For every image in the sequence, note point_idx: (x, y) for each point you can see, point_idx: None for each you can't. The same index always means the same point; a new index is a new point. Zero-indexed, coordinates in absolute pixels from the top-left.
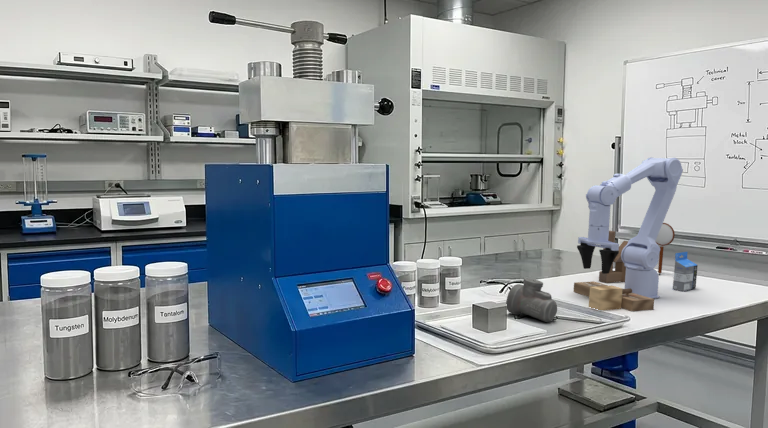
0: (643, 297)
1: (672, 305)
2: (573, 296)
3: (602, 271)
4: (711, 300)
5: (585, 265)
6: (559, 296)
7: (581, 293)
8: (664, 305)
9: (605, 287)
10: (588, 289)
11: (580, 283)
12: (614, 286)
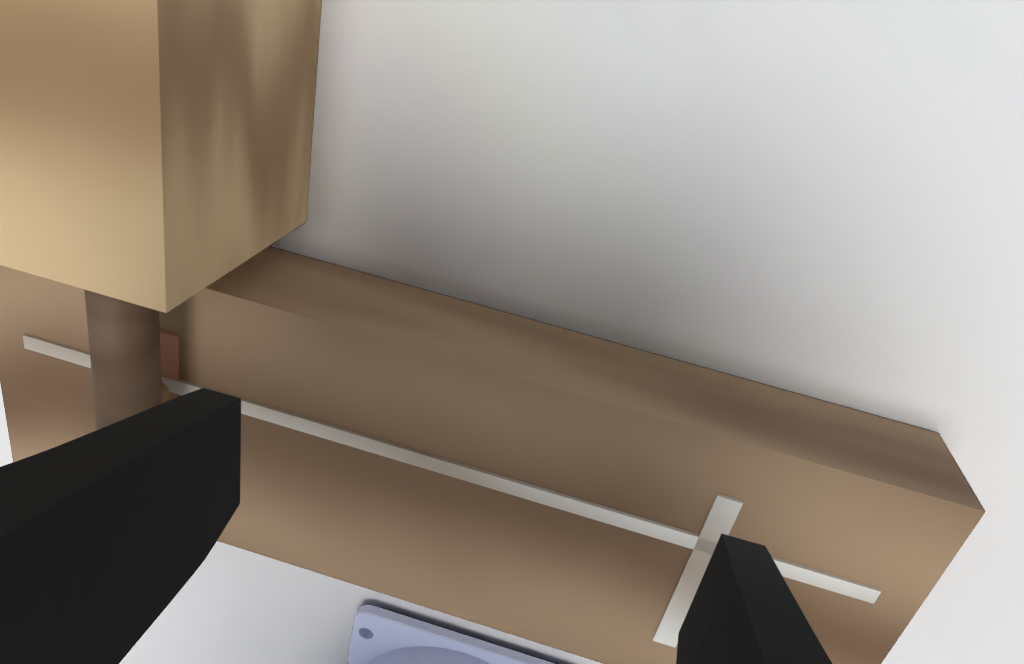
0: None
1: (160, 637)
2: (804, 220)
3: (198, 404)
4: None
5: (725, 596)
6: (945, 26)
7: (797, 399)
8: (173, 598)
9: (62, 71)
10: (683, 407)
11: (885, 527)
12: (98, 274)
